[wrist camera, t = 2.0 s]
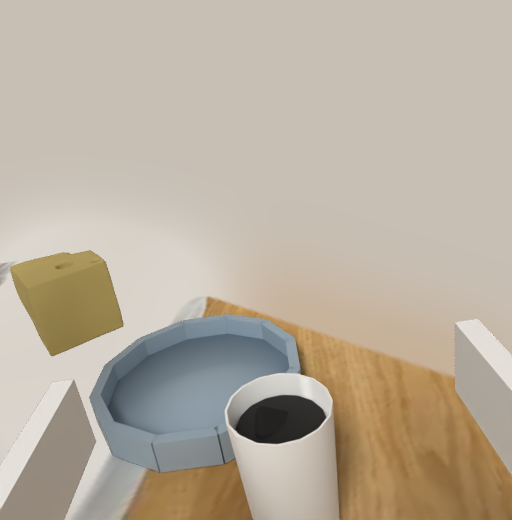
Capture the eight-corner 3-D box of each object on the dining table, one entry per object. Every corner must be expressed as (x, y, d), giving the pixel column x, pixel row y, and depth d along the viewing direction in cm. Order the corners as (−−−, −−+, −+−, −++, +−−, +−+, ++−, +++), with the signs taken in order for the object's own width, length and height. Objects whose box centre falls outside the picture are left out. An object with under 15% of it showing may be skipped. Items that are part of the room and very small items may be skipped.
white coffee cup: (246, 573, 30) (217, 451, 26) (252, 486, 36) (229, 377, 33) (353, 567, 29) (339, 441, 26) (340, 480, 36) (327, 368, 32)
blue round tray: (57, 435, 45) (47, 410, 44) (183, 328, 61) (178, 307, 60) (236, 500, 35) (229, 469, 34) (331, 352, 51) (328, 327, 50)
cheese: (103, 303, 72) (84, 241, 68) (128, 328, 63) (108, 259, 60) (31, 331, 67) (7, 266, 63) (48, 361, 58) (21, 288, 55)
